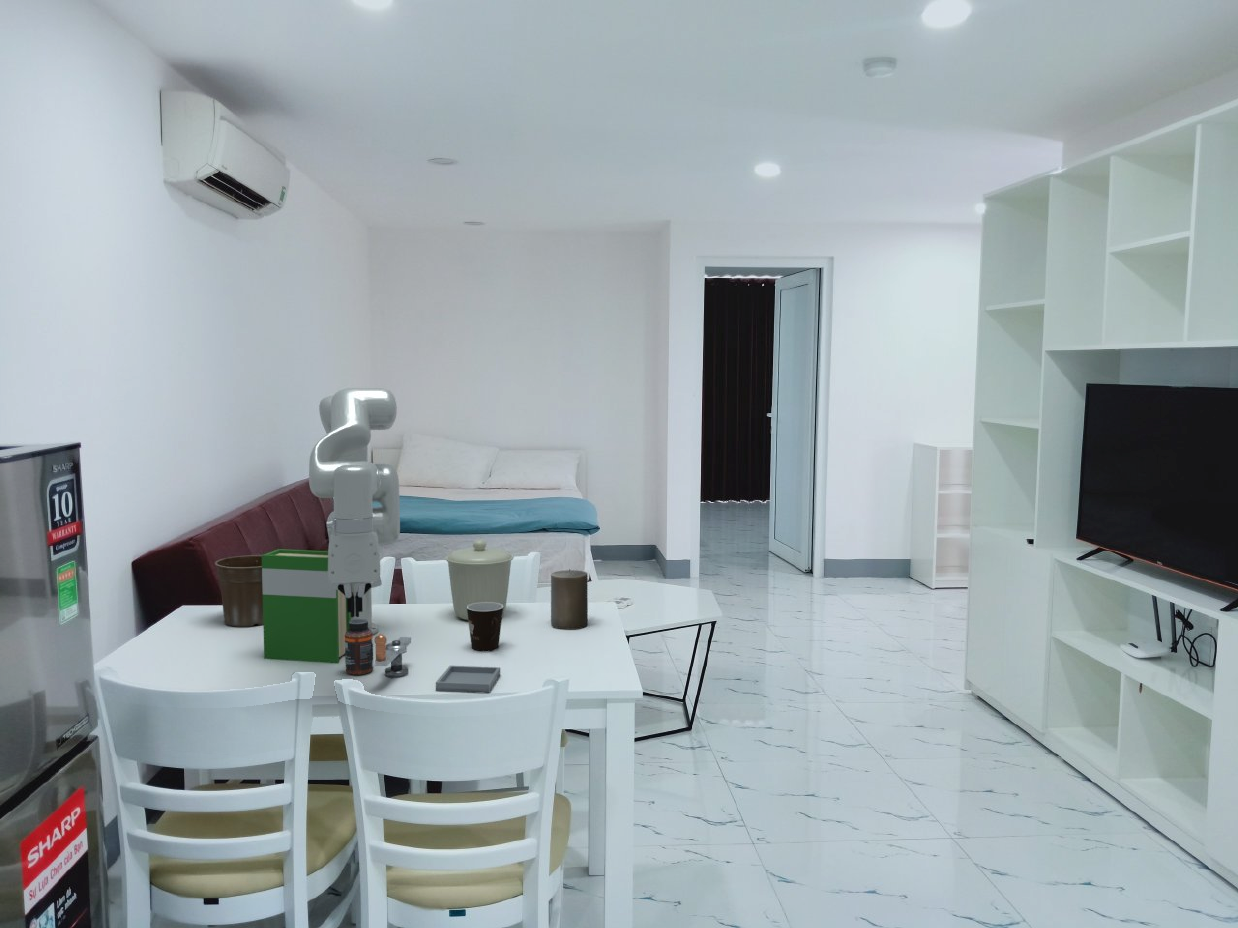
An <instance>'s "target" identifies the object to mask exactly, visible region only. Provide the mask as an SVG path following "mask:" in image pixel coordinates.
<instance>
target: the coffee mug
mask: <svg viewBox="0 0 1238 928" xmlns="http://www.w3.org/2000/svg"><path fill="white" fill-rule="evenodd" d="M467 613H468V620H467V621H468V629H469V637H470V644H471V645H470V646H471V649H472V651H476V652H481V653H482V652H483V653H484V652H491V651H496V650H498V649H499V646H500V638H501V628H502V622H503V614H504V613H503V605H502V604H499V603H493V602H480V603H474V604H470V605H468V606H467ZM502 613H503V614H502Z"/></svg>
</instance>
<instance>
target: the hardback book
mask: <svg viewBox="0 0 1238 928" xmlns="http://www.w3.org/2000/svg"><path fill="white" fill-rule="evenodd" d="M261 555H262V586H263V625H262V626H263V653H264V656H263V657H264V659H265V660H276V661H277V660H279V661H291V662H292V661H294V662H305V663H306V662H307V663H309V662H310V663H324V664H339V663H340V658H341V657H342V656H344V655H345V633H346V632H347V631H348V630H349V622H350V621H351V612H349V613H347V597H346V596H345V595H344V594H343V593H342V592H340V591H339V590H336V589H330V588H328V587H327V583H328V550H308V549H307V550H306V549H283V548H282V549H281V548H277V549H275V550H273V551H269V552H267V553H264V554H261Z"/></svg>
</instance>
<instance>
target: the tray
mask: <svg viewBox="0 0 1238 928" xmlns="http://www.w3.org/2000/svg"><path fill="white" fill-rule="evenodd" d="M500 677H501V667H498V666H497V667H496V666H494V667H493V666H475V665H473V666H472V665H471V666H470V665H469V666H468V665H449V666H448V667H447V668H446V670H445V671H444V672H443V673H442V675H440V677H439V678H438V679H437V680H436V681H435V692H451V693H455V692H456V693H457V692H458V693H475V692H485V693H484V694H489V692H490V693H491V691H492V689H493V688H494V686H495V685H496V683H497V682H498V680H499V678H500ZM496 681H497V682H496ZM494 684H495V685H494Z"/></svg>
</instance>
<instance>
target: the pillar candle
mask: <svg viewBox="0 0 1238 928" xmlns="http://www.w3.org/2000/svg"><path fill="white" fill-rule="evenodd" d="M588 575H589V574H588V572H587V571H583V570H577V569H576V570H575V569H573V570H572V569H570V568H568V569H566V570H557V571H553V572H552V573H550V625H551V626H552V628H555V629H560V630H578V629H582V628H586V627H587V626H588V624H589V622H588V621H589V620H588V618H589V617H588V616H589V615H588V614H589V613H588V612H589V610H588V609H589V608H588V607H589V606H588V605H589V604H588V595H589V594H588V590H589V589H588V588H589V587H588V582H589V581H588V577H589V576H588Z"/></svg>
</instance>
